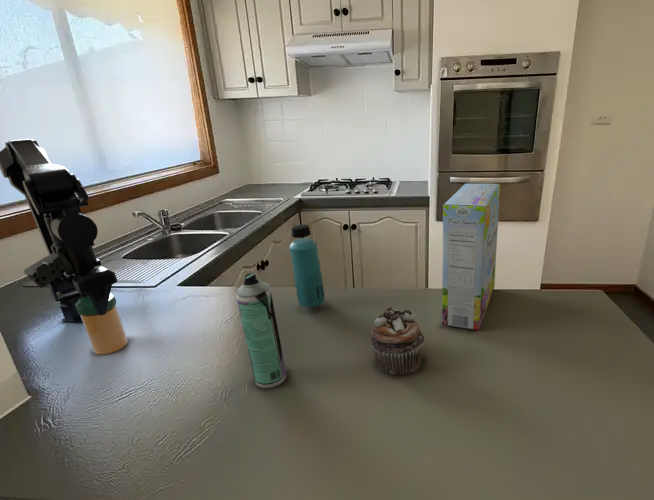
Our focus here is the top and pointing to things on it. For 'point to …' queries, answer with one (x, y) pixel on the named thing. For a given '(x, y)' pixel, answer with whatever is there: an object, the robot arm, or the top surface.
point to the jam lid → (87, 308)
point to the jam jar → (105, 331)
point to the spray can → (261, 332)
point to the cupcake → (397, 342)
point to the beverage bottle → (306, 268)
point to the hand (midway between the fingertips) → (97, 310)
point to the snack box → (469, 254)
